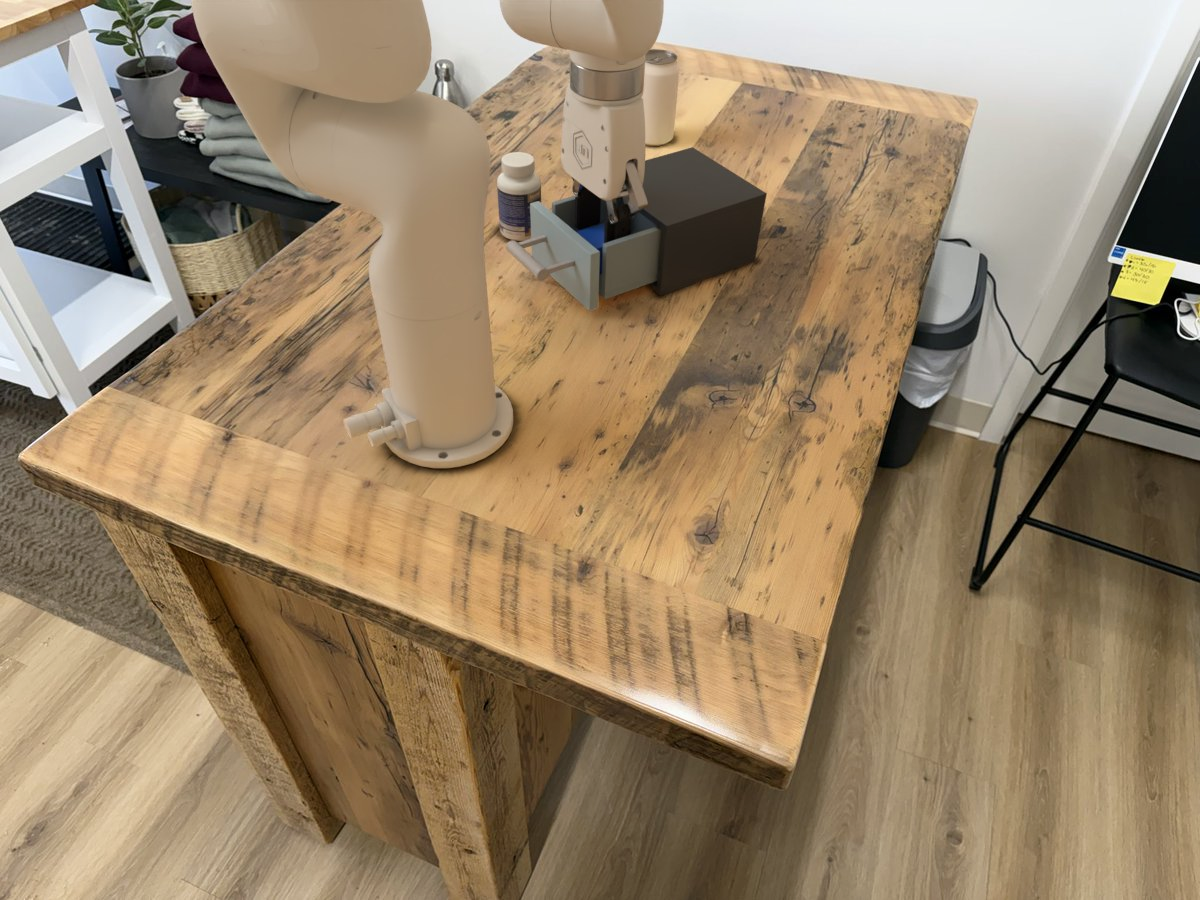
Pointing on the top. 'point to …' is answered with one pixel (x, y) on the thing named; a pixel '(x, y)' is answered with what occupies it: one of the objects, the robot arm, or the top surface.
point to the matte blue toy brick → (595, 239)
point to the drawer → (588, 253)
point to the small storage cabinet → (700, 217)
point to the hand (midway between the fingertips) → (601, 236)
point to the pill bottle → (517, 195)
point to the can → (660, 96)
